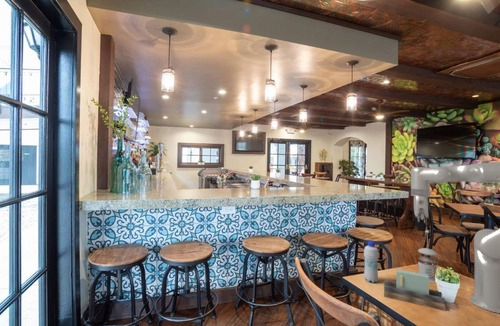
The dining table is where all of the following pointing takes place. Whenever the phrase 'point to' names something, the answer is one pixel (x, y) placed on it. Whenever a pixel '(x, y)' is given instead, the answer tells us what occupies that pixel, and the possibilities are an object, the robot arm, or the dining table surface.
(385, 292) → the bottom track
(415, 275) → the door panel
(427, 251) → the french press
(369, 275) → the bottle
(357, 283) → the dining table surface
